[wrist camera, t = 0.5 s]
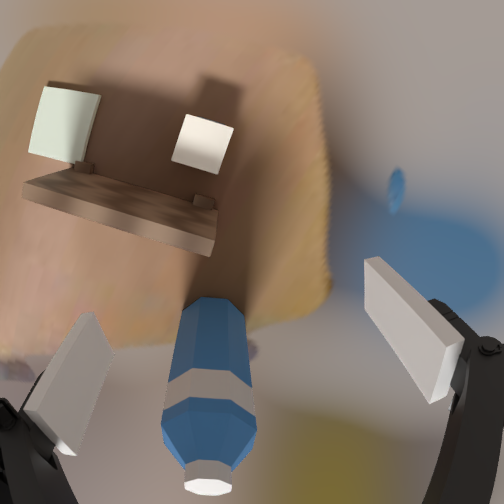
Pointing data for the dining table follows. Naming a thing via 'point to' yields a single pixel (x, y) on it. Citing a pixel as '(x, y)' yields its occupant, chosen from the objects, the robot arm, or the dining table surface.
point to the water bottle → (209, 396)
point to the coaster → (63, 124)
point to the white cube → (202, 143)
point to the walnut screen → (128, 207)
